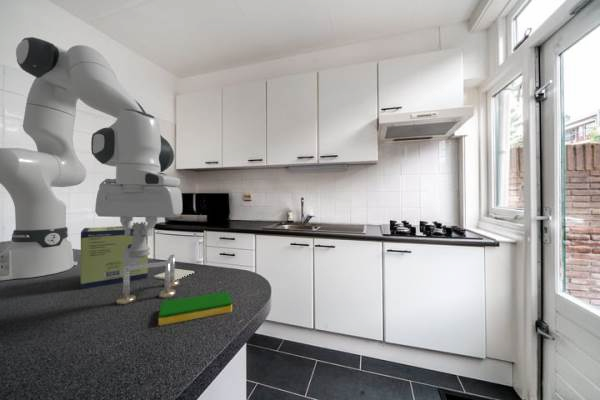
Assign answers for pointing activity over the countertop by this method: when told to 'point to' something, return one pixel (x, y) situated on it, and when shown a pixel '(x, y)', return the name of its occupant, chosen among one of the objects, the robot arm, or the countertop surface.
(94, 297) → the countertop surface
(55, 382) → the countertop surface
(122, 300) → the angled post rail
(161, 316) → the dish sponge
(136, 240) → the rook chess piece
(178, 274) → the coaster pad
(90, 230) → the protein box
